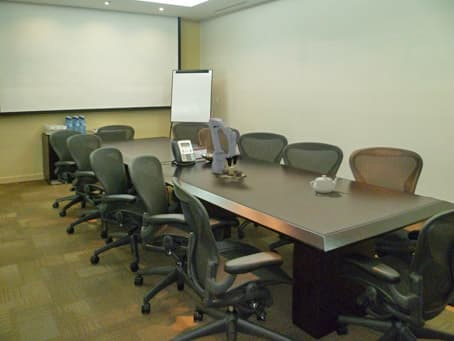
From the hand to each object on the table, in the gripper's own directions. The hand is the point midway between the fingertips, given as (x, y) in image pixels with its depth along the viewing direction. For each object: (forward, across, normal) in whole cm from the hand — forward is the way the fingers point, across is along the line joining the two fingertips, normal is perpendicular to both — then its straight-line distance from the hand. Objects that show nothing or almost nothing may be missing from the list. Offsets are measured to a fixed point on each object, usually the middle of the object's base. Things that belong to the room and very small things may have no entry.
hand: (232, 165), depth 312 cm
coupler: (+7, 0, 0) cm, 7 cm away
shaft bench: (+9, 0, 0) cm, 9 cm away
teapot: (+9, -10, -76) cm, 77 cm away
